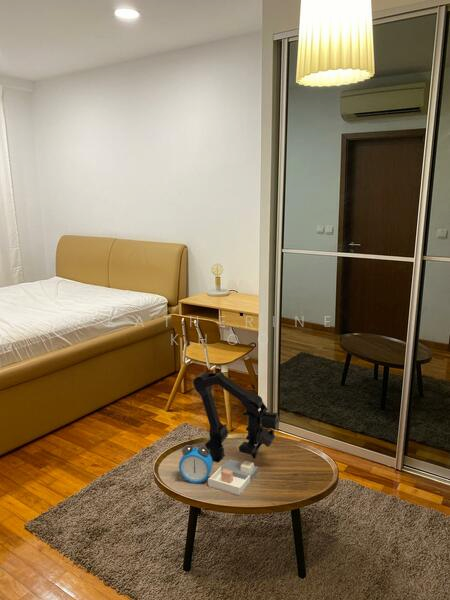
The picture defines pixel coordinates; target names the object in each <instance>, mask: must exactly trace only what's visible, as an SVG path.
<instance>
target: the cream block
mask: <svg viewBox="0 0 450 600" xmlns="http://www.w3.org/2000/svg"><path fill="white" fill-rule="evenodd" d="M254 466H255V463H254V462H252V461H251V462H250V461H247V460H244V461H243V462H242V465H241V471H242V472H245V473H249V474H250V473H251V472H252V470H253V469H254Z"/></svg>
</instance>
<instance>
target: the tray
mask: <svg viewBox="0 0 450 600" xmlns="http://www.w3.org/2000/svg"><path fill="white" fill-rule="evenodd" d="M221 467H222V466H220V467H219V468H217V469H216V471H215V472H214V473H213V474H212V475H211V476H210V477H208V478H207V483H208V484H207V485H208V487H210V488H213V489H215V490H218V491H222V492H226V493H229V494H231V495H232V494H233V495H235V496H241V494H242V493H243V492H244V491H245V490H246V488H247V487H248V486H249V484H250V483H251V482H250V476H248V477H247V478H246V479H245V480H244V479H241V478H238V477H234V476H233V481H232V482H231V483H226V482H223V481H221Z"/></svg>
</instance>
